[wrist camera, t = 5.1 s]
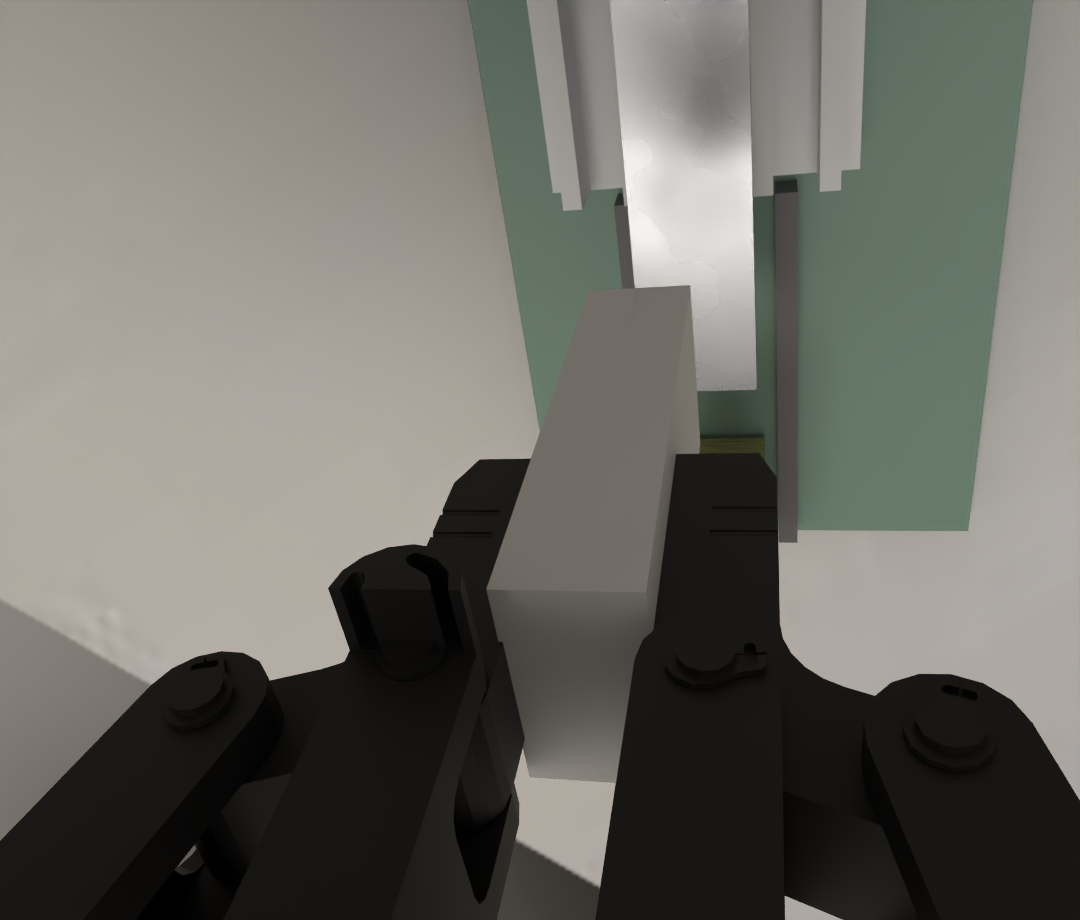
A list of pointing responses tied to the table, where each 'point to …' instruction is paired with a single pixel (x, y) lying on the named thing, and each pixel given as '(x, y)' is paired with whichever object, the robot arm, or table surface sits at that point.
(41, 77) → the table surface
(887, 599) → the table surface
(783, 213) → the board
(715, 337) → the strap
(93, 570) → the table surface
